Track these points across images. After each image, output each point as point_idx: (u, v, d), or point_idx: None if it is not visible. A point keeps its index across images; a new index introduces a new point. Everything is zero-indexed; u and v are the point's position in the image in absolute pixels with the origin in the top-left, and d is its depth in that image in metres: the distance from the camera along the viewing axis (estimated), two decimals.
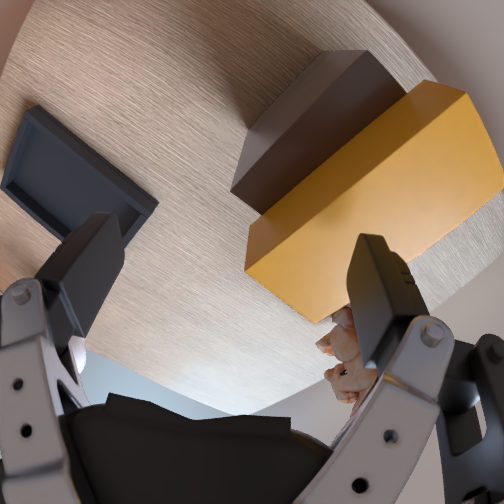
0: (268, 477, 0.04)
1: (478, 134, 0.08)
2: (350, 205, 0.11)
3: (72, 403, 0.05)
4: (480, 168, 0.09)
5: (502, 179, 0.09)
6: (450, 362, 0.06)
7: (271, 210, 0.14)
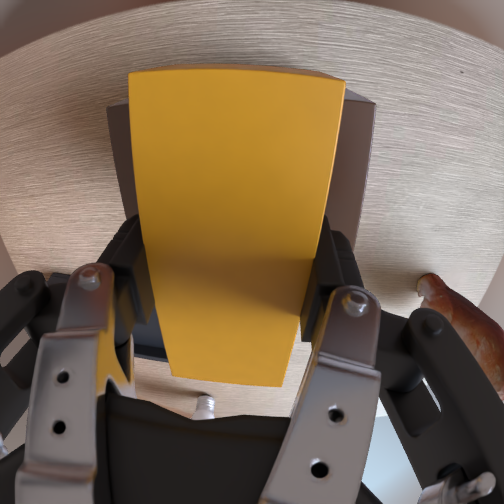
0: (268, 477, 0.04)
1: (200, 88, 0.06)
2: (170, 293, 0.09)
3: None
4: (260, 120, 0.06)
5: (324, 88, 0.05)
6: (379, 334, 0.06)
7: None
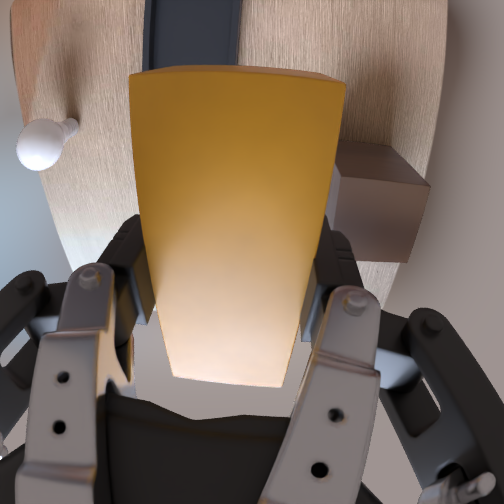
0: (268, 477, 0.04)
1: (201, 91, 0.06)
2: (171, 294, 0.09)
3: None
4: (260, 122, 0.06)
5: (324, 90, 0.05)
6: (379, 334, 0.06)
7: None
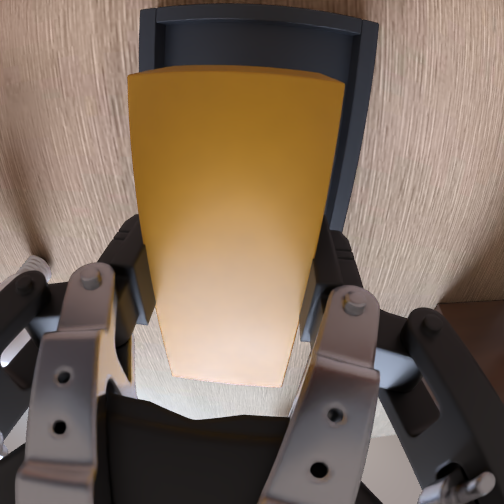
0: None
1: (200, 91, 0.06)
2: (170, 295, 0.09)
3: None
4: (259, 122, 0.06)
5: (323, 90, 0.05)
6: (378, 334, 0.06)
7: None
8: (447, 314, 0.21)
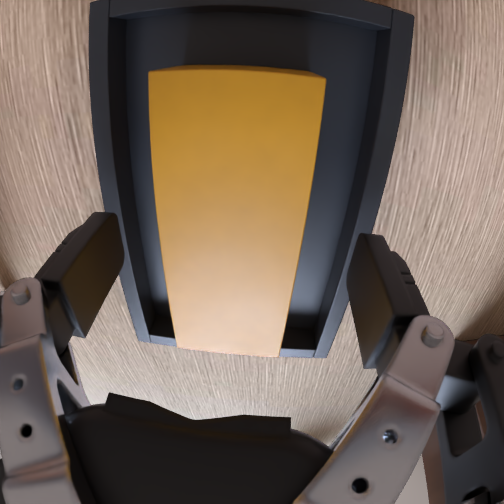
0: (268, 477, 0.04)
1: (209, 85, 0.07)
2: (178, 263, 0.10)
3: (72, 403, 0.05)
4: (257, 110, 0.07)
5: (308, 84, 0.07)
6: (450, 362, 0.06)
7: None
8: None
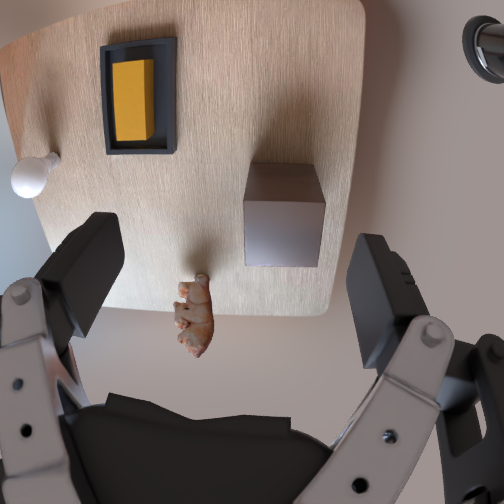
0: (268, 477, 0.04)
1: (123, 65, 0.31)
2: (118, 106, 0.35)
3: (72, 403, 0.05)
4: (132, 68, 0.32)
5: (140, 61, 0.31)
6: (450, 362, 0.06)
7: None
8: (253, 165, 0.42)
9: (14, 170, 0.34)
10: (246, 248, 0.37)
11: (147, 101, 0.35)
